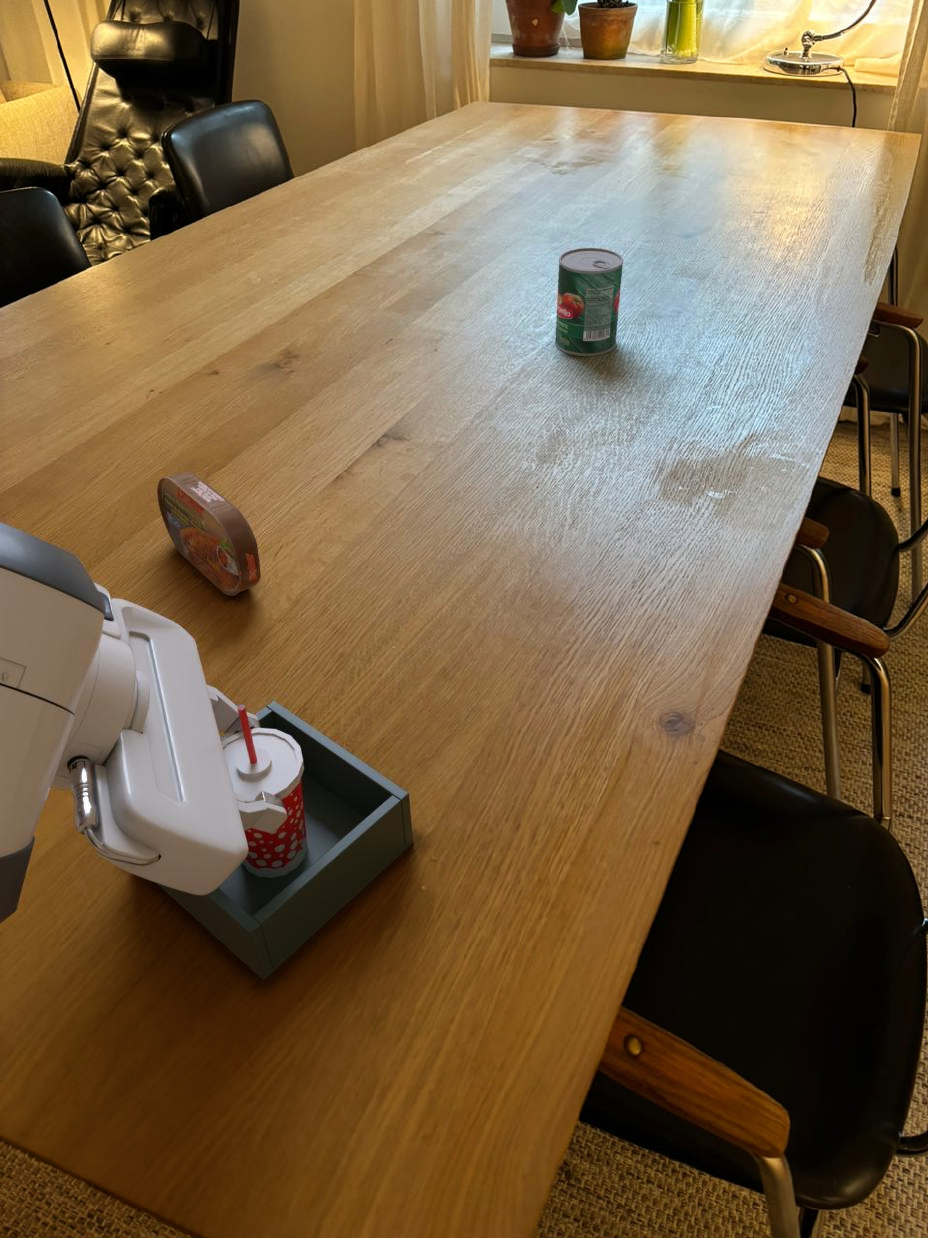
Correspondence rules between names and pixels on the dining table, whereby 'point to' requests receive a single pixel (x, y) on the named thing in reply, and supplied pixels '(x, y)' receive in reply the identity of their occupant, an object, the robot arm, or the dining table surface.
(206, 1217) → the dining table surface
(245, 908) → the bin
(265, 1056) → the dining table surface
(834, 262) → the dining table surface
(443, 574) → the dining table surface
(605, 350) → the canned tomato
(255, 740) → the beverage cup
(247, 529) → the tin
